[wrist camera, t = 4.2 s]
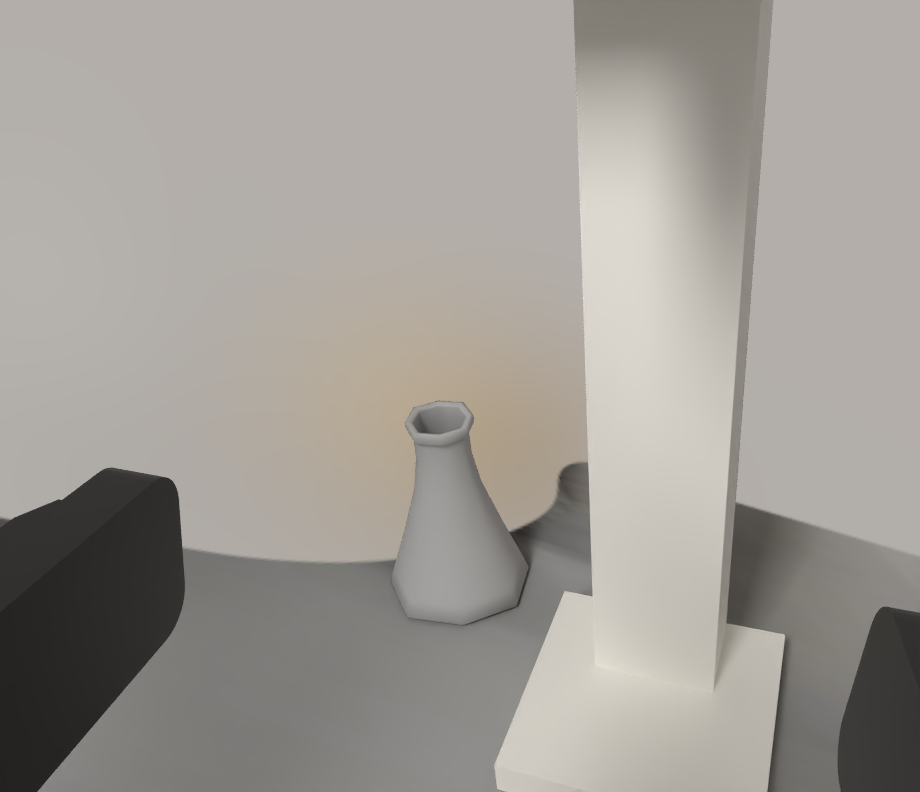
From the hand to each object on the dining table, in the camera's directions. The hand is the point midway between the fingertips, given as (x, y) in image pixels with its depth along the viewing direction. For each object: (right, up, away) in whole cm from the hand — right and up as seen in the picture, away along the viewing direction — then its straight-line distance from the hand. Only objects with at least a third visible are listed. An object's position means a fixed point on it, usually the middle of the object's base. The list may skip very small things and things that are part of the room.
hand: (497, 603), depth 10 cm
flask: (0, -7, +36) cm, 37 cm away
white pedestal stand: (+8, -11, +27) cm, 31 cm away
